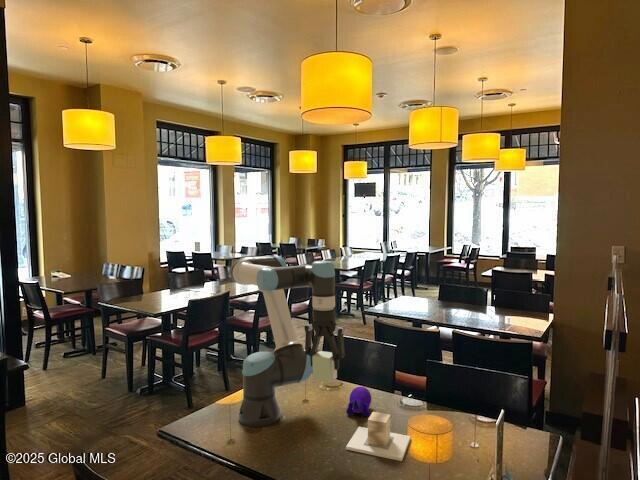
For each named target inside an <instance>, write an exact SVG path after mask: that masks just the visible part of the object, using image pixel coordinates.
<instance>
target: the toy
mask: <svg viewBox="0 0 640 480" xmlns="http://www.w3.org/2000/svg"><path fill="white" fill-rule="evenodd" d="M348 400H349V401H348V402H349V403H348V404H347V408H346V410H345V411H346V414H347V415H348V416H353V415H354V413H355V414H361V413H362V416H363V417H365V418H366V417H367V418H369V417H370V415H371V414H370V411H369V410H370V409H369V408H370V407H371V403H372V394H371V392H370V390H369V389H367V388H366V387H364V386H357V387H355V388H353V389H352V390H351V392H350V394H349V399H348Z"/></svg>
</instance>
